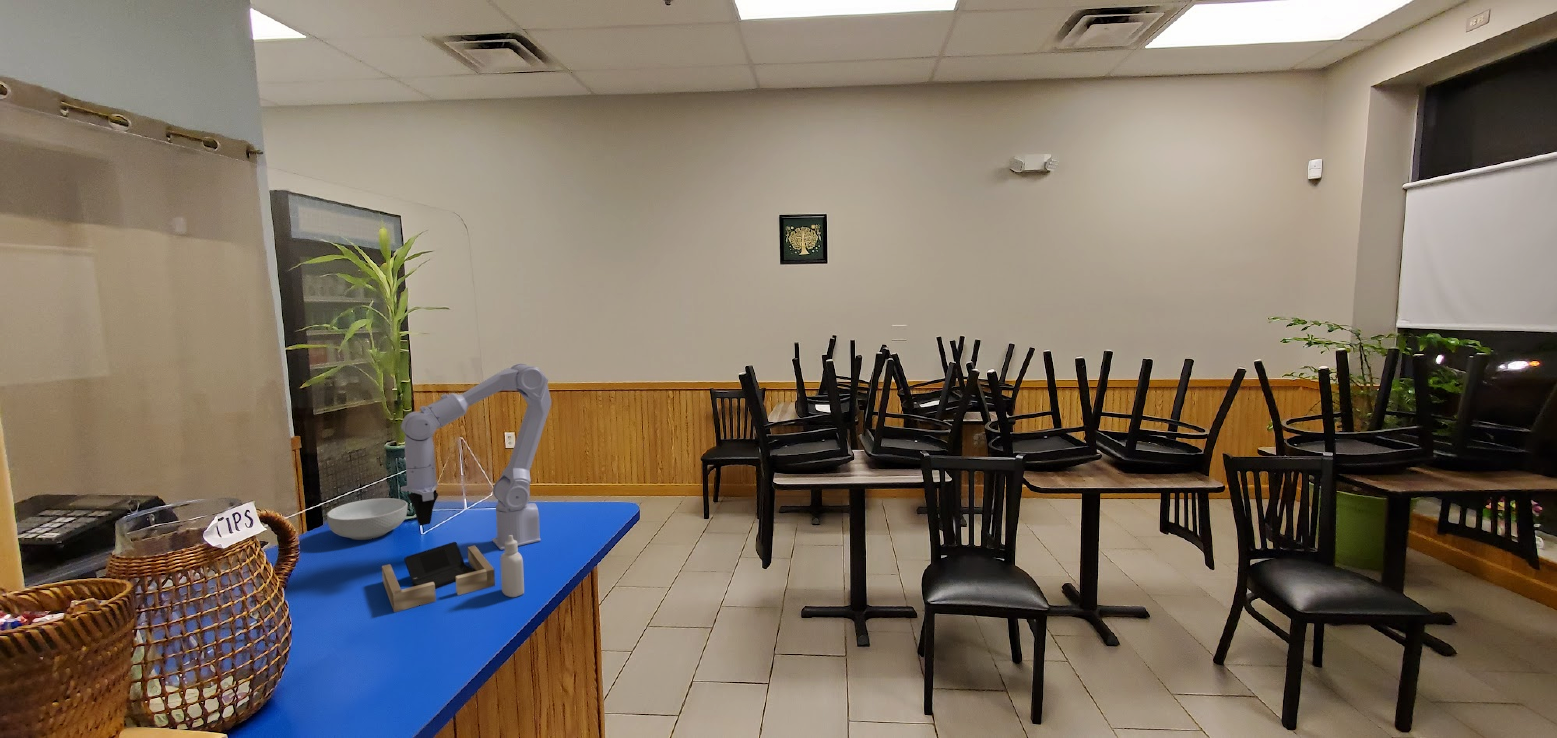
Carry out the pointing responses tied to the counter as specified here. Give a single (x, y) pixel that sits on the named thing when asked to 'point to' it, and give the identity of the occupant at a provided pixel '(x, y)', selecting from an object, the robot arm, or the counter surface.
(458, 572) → the handheld gaming console
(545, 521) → the counter surface
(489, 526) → the counter surface
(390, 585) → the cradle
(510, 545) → the eye dropper bottle
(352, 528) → the cereal bowl
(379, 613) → the counter surface
